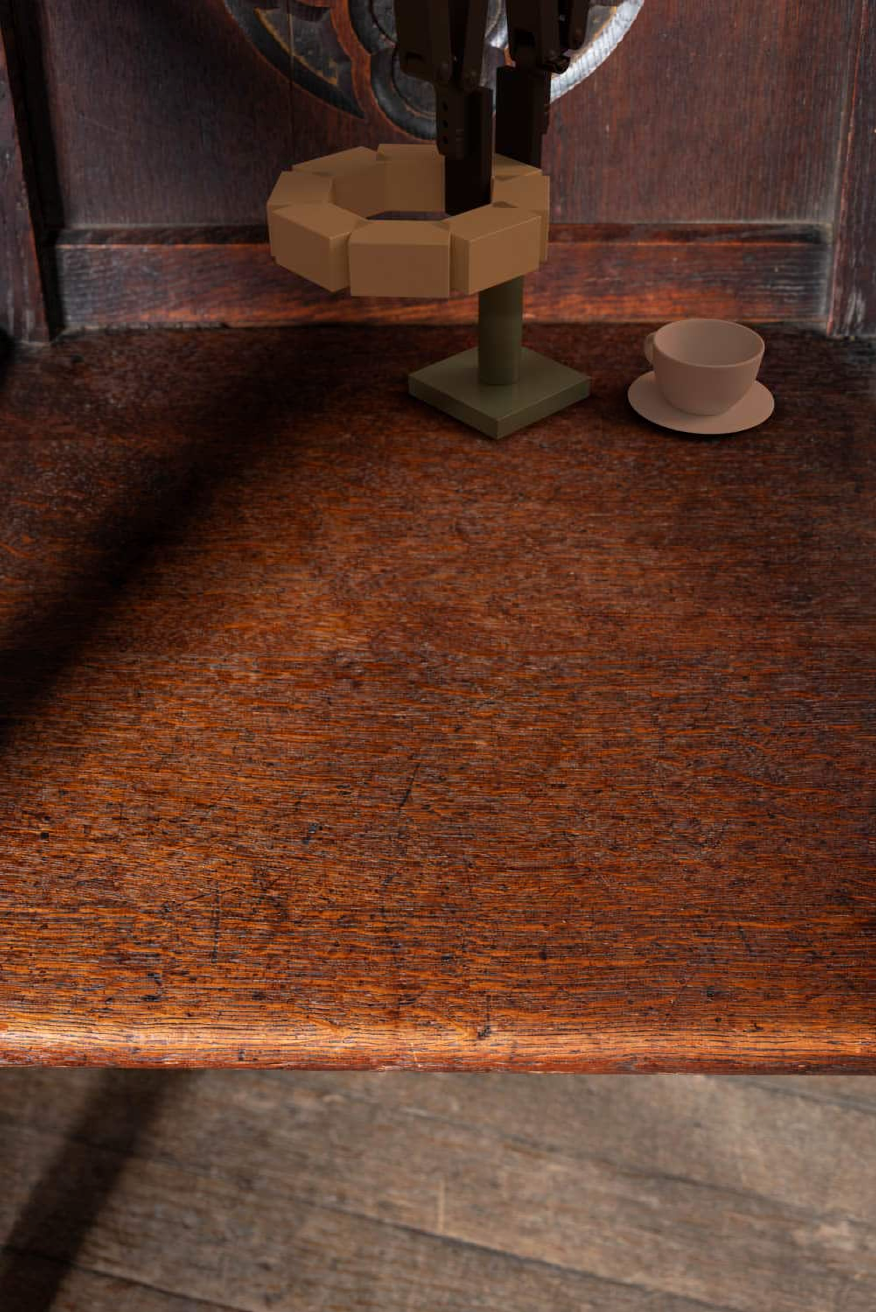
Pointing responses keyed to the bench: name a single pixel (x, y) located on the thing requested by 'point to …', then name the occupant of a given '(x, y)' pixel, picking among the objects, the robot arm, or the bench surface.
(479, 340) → the stand
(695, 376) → the teacup
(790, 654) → the bench surface
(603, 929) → the bench surface
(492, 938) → the bench surface
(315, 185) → the ring of blocks
